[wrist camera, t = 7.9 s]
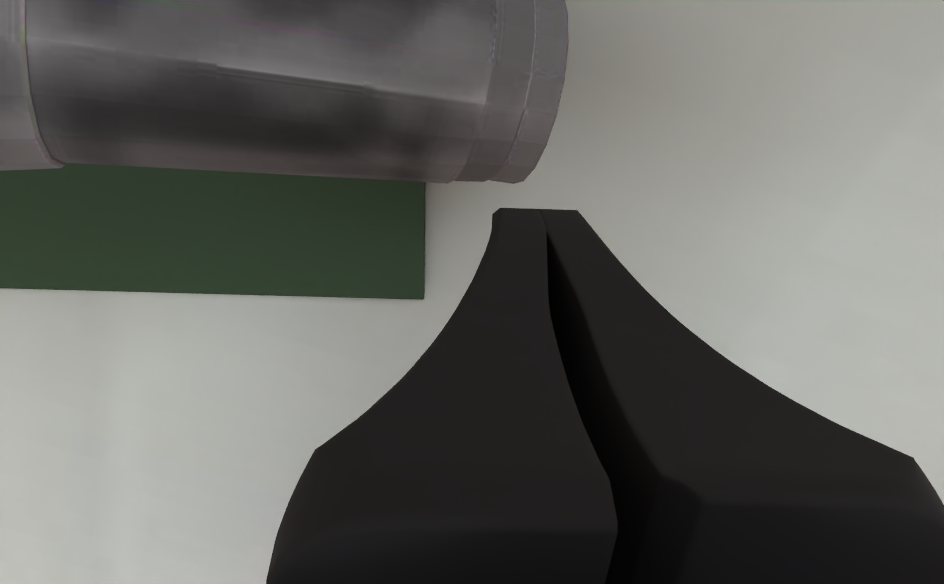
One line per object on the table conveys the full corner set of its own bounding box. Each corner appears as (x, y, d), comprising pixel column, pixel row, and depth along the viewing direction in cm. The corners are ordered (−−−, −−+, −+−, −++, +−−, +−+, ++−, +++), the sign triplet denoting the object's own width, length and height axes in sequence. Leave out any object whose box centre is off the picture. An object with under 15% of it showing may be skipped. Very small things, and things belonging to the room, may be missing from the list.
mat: (424, 293, 24) (424, 299, 24) (-173, 277, 23) (-179, 283, 23) (428, -322, 15) (427, -323, 15) (-541, -376, 14) (-558, -376, 14)
